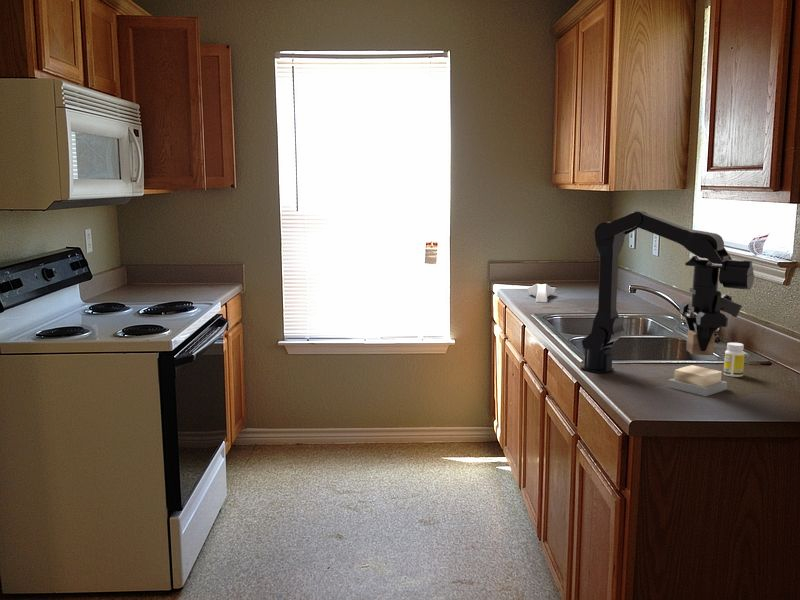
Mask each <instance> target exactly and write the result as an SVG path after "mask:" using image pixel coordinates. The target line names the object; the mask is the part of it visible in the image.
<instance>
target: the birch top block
mask: <svg viewBox="0 0 800 600" xmlns="http://www.w3.org/2000/svg"><path fill="white" fill-rule="evenodd" d="M673 372H674V374H673V378H674V380H678V381H682V382H686V383H691V384H695V385H699V386H703V387H705V386H708V385H711V384H714V383H718V382H721V381H722V374H723V372H722V371H721V370H716V369H711V368H707V367H702V366H698V365H694V364H691V365H686V366H683V367H680V368H676V369H674V371H673Z"/></svg>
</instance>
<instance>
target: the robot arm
mask: <svg viewBox="0 0 800 600" xmlns="http://www.w3.org/2000/svg"><path fill="white" fill-rule="evenodd" d="M639 229H641V230H644V231H645V232H649V233H652V234H654V235H657V236H659V237H662V238H664V239H665V240H666V239H667V240H669V241H673V243H674V242H675V243H677V244H679V245H681V246H682V247H683V248H685V249H686V250H687V251H688V252H689V253H692V254H693V256H692V257H691V258H690V259H689V260H688V261H686V262H685V263H684V264H685V266H687V267H689V266H690V267H693V275H692V276H693V277H692V287H690V288H689V293H691V300H690V301H683V302H682V303H681V304H680V305H679V313H680V314H681V315H683V316H682V317H683V319H684V322H685V324H686V327H687V331H688V330H695V331H696V335H697V339H698V343H699V346H700V350H701V351H706V349H707V346H708V344H709V341H710V339H711V336H712V334H714V332H715V331H716V330H718V329H721V328H726V327H728V325H729V324H728V323H729V318H728V317H727V316H726V315H725V314H724V313H726V314H729V315H731V316H732V317H733V318H737V317H738V316H739V314H740V311H741V309H742V307H743V305H742V304H739V303H738V302H735V301H733V298H732V296H730V295H728V294H725V293H723V294H722V292H721V291H720V290H718V289H719V283H720V285H722V286H723V288H727V289H735V290H737V289H738V290H747V291H750V290H752V287H753V285H754V281H755V273H754V267H753V261H752V260H747V259H746V260H736V259H735V260H734V259H733V258H732V257H731V256H730V253H728V251H727V249H726V248H725V242H724V239H723V237H722V236H721V235H720V234H718V233H714V232H709V231H704V230H695V229H690V228H687V227H684V226H682V225H679V224H677V223H673V222H671V221H669V220H665V219H663V218H661V217H659V216H655V215H653V214H650V213H648V212H646V211H644V210H635V211H632V212H631V213H629V214H627V215H625V216H622V217H620V218H617V219H615V220H612V221H605V222H601V223H598V225H597V226H596V227H595V229H594V231H593V234H594V235H593V236H594V242H595V248H596V249H597V250H596V251H597V253H598V257H599V271H598V272H599V275H598V298H597V299H598V306H597V307H598V309H597V311H596V313H595V316H594V318H593V321H592V326H591V329H590V330H591V331H590V334H588V335H587V336H586V337H585V338H583V339H582V340H581V345H582V349H584V362H583V363H584V364H583V366H580V370H584V371H588V372H591V373H592V372H593V373H597V374H604V373H607V372H612V371H614V370H615V368H614V367H613V354H612V348H611V347H614V344H615V342H616V341H618V340H619V339H620V338H621V337H622V333H623V332H625V329H624V322H625V321H624V320H625V317H624V315H622V316H619V313H618V310H617V301H618V300H617V297H618V269H619V267H618V266H619V256H620V252H621V251H622V248H623V245H624V241H625V237H626V235H628V234H631V233H632V232H634V231H636V230H639ZM722 312H723V313H722ZM685 314H686V315H685Z"/></svg>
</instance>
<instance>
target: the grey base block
mask: <svg viewBox="0 0 800 600" xmlns="http://www.w3.org/2000/svg"><path fill="white" fill-rule="evenodd" d="M667 382H668V383H667V388H669V389H674V390H678V391H682V392H685V393H686V392H687V393H691V394H694V395H699V396H702V397H703V396H704V397H708V396H711V395H714V394H717V393H720V392H724V391H726V390H727V389H728V381H724V380H721V382H718V383H714V384H711V385H708V386H705V387H703V386H699V385H695V384H691V383H686V382H682V381H678V380H674V377H673V378H669V379H668V381H667Z"/></svg>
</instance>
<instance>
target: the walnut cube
mask: <svg viewBox="0 0 800 600" xmlns="http://www.w3.org/2000/svg"><path fill="white" fill-rule="evenodd" d="M715 340H716V334H714V333H713V334H712V336H711V339H710V341H709V344H708V346H707V349H706V351H701V350H700V346H699V343H698V339H697V335H696V331H695V330H688V329H687V337H686V346H685V347H686V349H685V350H686V351H687V352H688V353H690V354H691V355H697V356H714V350H715Z"/></svg>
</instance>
